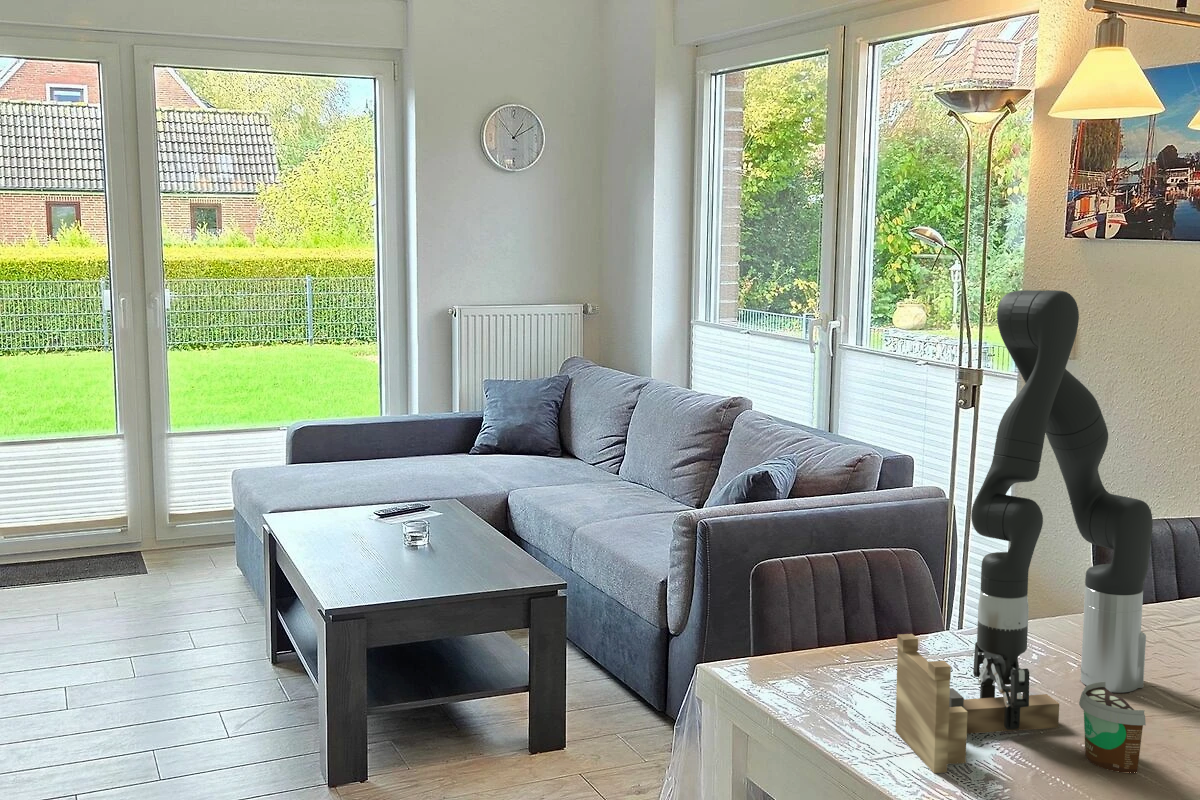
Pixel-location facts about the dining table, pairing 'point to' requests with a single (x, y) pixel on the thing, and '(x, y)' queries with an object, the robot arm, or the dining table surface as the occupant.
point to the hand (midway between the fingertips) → (998, 717)
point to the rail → (991, 713)
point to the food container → (1111, 729)
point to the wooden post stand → (928, 708)
